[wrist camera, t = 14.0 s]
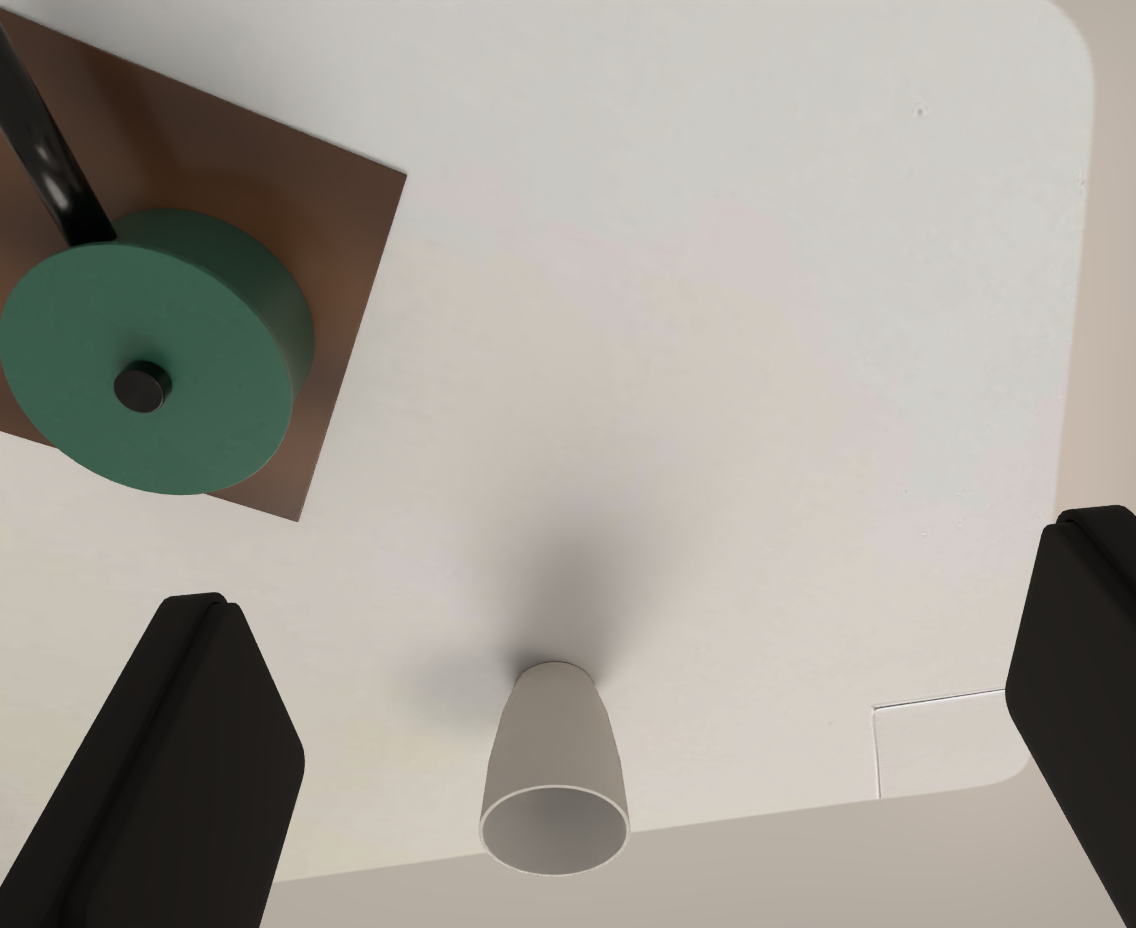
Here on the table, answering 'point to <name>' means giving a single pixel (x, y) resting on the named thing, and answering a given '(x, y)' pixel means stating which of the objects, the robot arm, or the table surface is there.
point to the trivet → (207, 213)
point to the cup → (554, 778)
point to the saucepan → (146, 327)
